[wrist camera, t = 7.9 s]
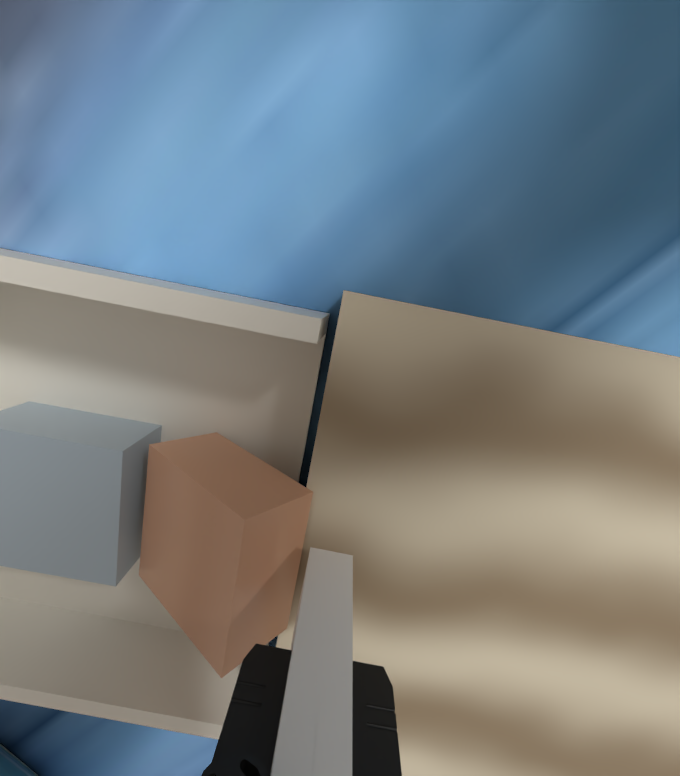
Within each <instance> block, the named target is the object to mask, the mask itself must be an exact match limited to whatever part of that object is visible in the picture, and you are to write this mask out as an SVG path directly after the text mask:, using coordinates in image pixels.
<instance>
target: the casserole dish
mask: <svg viewBox="0 0 680 776" xmlns="http://www.w3.org/2000/svg"><path fill="white" fill-rule="evenodd" d="M0 776H38V775H37V774H36V773H35V772H33V771H32V770H31V769H30V768H29V767H28V766H27V765H25V764H24V763H23V762H22V761H21V760H19V759H18V758H17V757H16V756H14V755H13V754H12V753H11V752H10V751H8V750H7V749H6V748H5V747H3V746H2V745H1V744H0Z"/></svg>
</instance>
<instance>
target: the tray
mask: <svg viewBox="0 0 680 776" xmlns="http://www.w3.org/2000/svg"><path fill="white" fill-rule="evenodd" d="M329 316H330V313H325V312H320V311H315V310H310V309H305V308H300V307H295V306H290V305H285V304H280V303H275V302H270V301H264V300H259V299H254V298H249V297H244V296H239V295H234V294H229V293H224V292H219V291H214V290H209V289H204V288H199V287H194V286H189V285H184V284H179V283H174V282H169V281H164V280H159V279H154V278H149V277H144V276H139V275H134V274H129V273H124V272H119V271H113V270H108V269H103V268H98V267H93V266H88V265H83V264H78V263H73V262H68V261H63V260H58V259H53V258H48V257H43V256H38V255H33V254H28V253H23V252H18V251H13V250H8V249H3V248H0V410H3V409H7V408H10V407H13V406H16V405H19V404H22V403H26V402H29V401H30V402H36V403H41V404H47V405H52V406H58V407H64V408H69V409H75V410H80V411H86V412H91V413H97V414H102V415H108V416H113V417H119V418H124V419H130V420H135V421H141V422H146V423H152V424H157V425H162V430H161V442H165V441H171V440H176V439H182V438H187V437H193V436H199V435H204V434H210V433H216V432H217V433H219V434H220V435H222V436H224V437H225V438H227V439H228V440H230V441H232V442H233V443H235V444H236V445H238V446H240V447H241V448H243V449H245V450H246V451H248V452H249V453H251V454H253V455H254V456H256V457H258V458H259V459H261V460H262V461H264V462H266V463H267V464H269V465H270V466H272V467H274V468H275V469H277V470H279V471H280V472H282V473H283V474H285V475H287V476H288V477H290V478H292V479H293V480H295V481H296V482H298V483H299V479H300V473H301V468H302V462H303V457H304V452H305V446H306V441H307V435H308V430H309V425H310V419H311V414H312V408H313V403H314V397H315V392H316V387H317V381H318V376H319V370H320V365H321V359H322V354H323V349H324V343H325V338H326V332H327V327H328V321H329ZM139 565H140V558H139V559H138V560H137V561H136V563H135V564H134V565H133V566H132V567H131V569H130V570H129V571H128V572H127V574H126V575H125V576H124V577H123V578H122V580H121V581H120V582H119V583H118V584H117V586H111V585H105V584H99V583H94V582H88V581H82V580H77V579H71V578H66V577H60V576H54V575H49V574H43V573H37V572H32V571H26V570H21V569H15V568H9V567H4V566H0V699H3V700H8V701H13V702H19V703H24V704H30V705H35V706H40V707H46V708H51V709H57V710H62V711H67V712H73V713H78V714H83V715H89V716H94V717H100V718H105V719H110V720H116V721H121V722H127V723H132V724H137V725H143V726H148V727H154V728H159V729H164V730H170V731H175V732H181V733H186V734H191V735H197V736H202V737H208V738H213V739H218V740H219V737H220V734H221V730H222V727H223V724H224V720H225V717H226V714H227V711H228V707H229V704H230V702H231V698H232V694H233V691H234V688H235V684H236V682H237V678H238V675H239V671H240V668H241V665H242V663H241V664H240V665H238V666H237V667H236V668H234V669H233V670H232V671H230V672H229V673H228V674H226V675H225V676H224V677H223V678H221V677H220V676H219V675H218V674H217V672H216V671H215V670H214V669H213V667H212V666H211V665H210V664H209V662H208V661H207V660H206V659H205V657H204V656H203V655H202V654H201V652H200V651H199V650H198V649H197V647H196V646H195V645H194V644H193V642H192V641H191V640H190V639H189V637H188V636H187V635H186V634H185V632H184V631H183V630H182V629H181V627H180V626H179V625H178V624H177V622H176V621H175V620H174V619H173V617H172V616H171V615H170V614H169V612H168V611H167V610H166V609H165V607H164V606H163V605H162V604H161V602H160V601H159V600H158V599H157V597H156V596H155V595H154V594H153V592H152V591H151V590H150V589H149V587H148V586H147V585H146V584H145V582H144V581H143V580H142V579H141V577H140V576H139ZM266 645H267V646H269V643H267V644H266Z"/></svg>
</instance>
